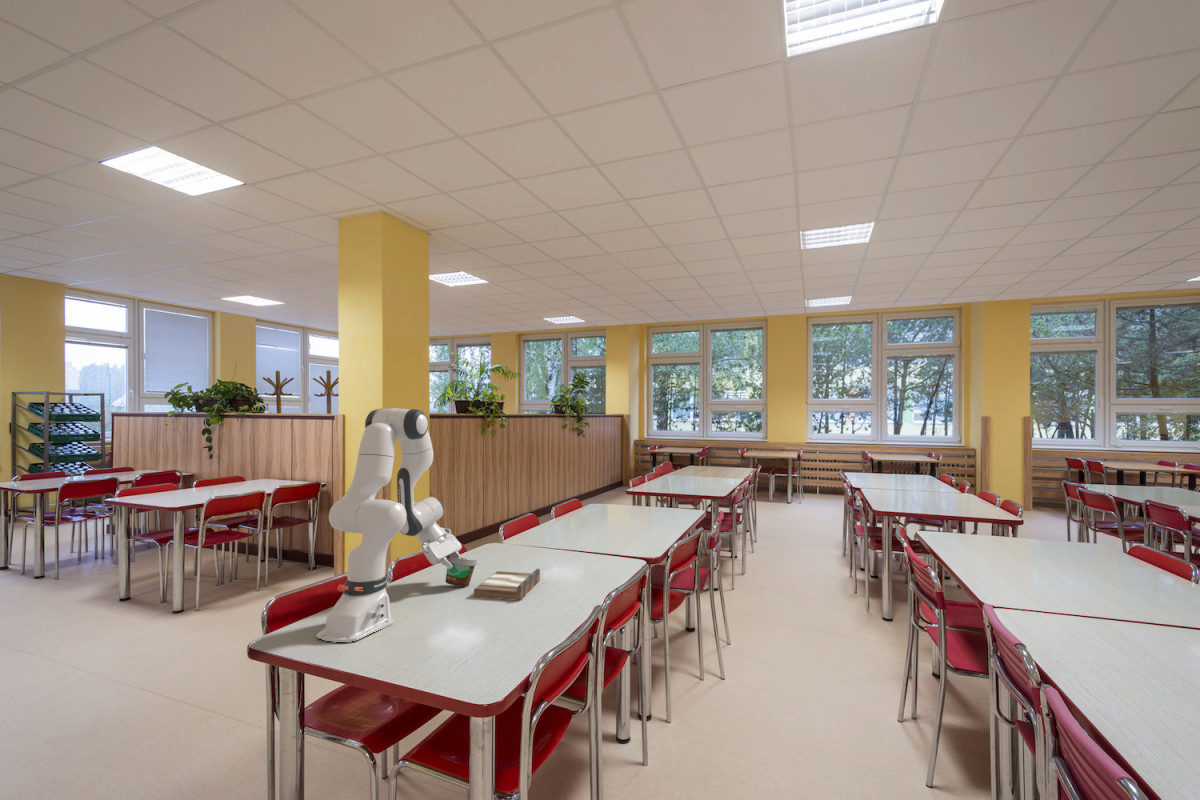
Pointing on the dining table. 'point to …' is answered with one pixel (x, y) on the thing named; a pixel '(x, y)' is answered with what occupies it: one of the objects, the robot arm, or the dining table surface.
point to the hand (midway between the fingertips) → (456, 565)
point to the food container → (460, 571)
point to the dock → (508, 585)
